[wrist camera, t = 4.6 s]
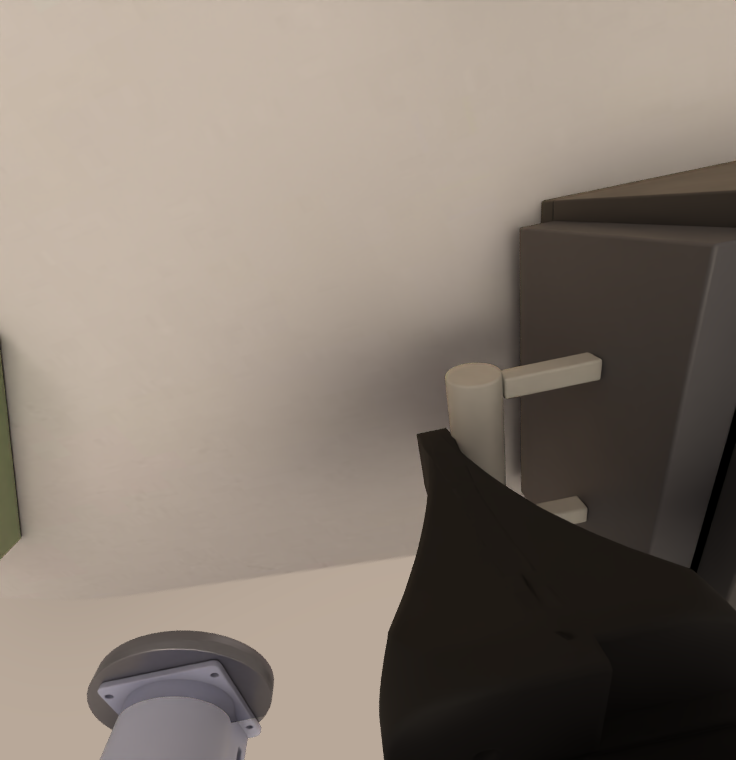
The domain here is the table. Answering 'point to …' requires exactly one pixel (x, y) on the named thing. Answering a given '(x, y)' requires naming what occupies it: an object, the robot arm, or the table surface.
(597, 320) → the drawer
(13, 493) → the button housing
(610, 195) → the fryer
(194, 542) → the table surface
